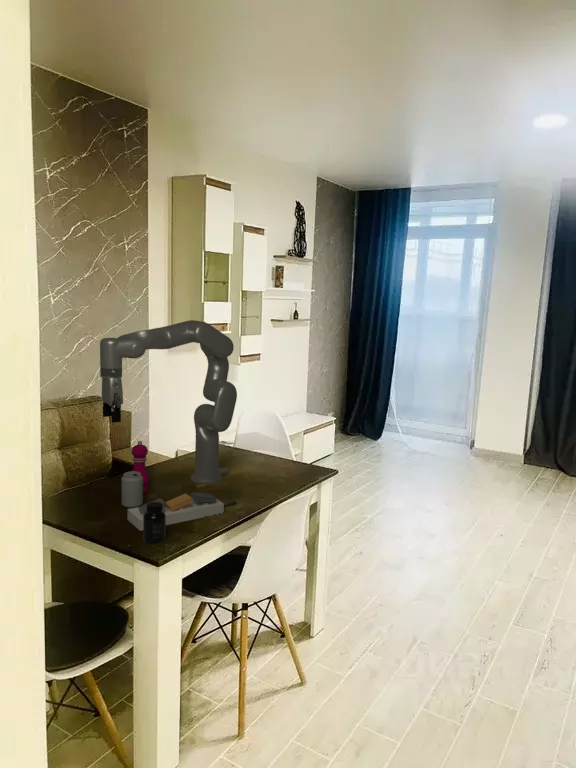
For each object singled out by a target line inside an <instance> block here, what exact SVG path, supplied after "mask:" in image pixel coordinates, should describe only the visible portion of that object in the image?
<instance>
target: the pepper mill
mask: <svg viewBox="0 0 576 768" xmlns="http://www.w3.org/2000/svg"><path fill="white" fill-rule="evenodd" d="M148 452H149V451H148V447H147V446H146V445H145V444H143V441H141V440H138V441H137V444H135V445H134V446H133V447H132V449H131V456H133V457H132V458H133V459H132V461H133V469H132V471H136V472H140V473H141V476H142V477H143V494H144V493H146V492H148V489H149V486H148V484H149V483H150V476H149V473H148V471H147V469H146V461H147V455H148Z"/></svg>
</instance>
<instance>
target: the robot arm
mask: <svg viewBox="0 0 576 768" xmlns="http://www.w3.org/2000/svg"><path fill="white" fill-rule="evenodd" d="M192 343H194V344H195V343H196V344H199V347H200V350H201V351H202V352H203V354H204V356H205V357H206V360H207V372H206V374H205V380H204V384H203V387H202V395H203V397H204V398H205V400H207V401H209V402H213V403H214V404H210V403H202V404H199V406H197V407H196V408H195V411H194V414H193V420H194V421H193V422H194V423H193V424H194V428H195V429H194V430H195V443H194V444H195V445H194V446H195V447H194V448H195V450H194V452H195V454H194V473H193V474H192V475H190V480H191V481H192V482H193V483H197V484H205V485H210V484H211V483H212V484H216V482H217V483H219V482H221V481H222V479H223V478H222V474H227V473H229V468H228V467H226V468H225V467H224V468H223V467H219V450H220V449H219V448H220V446H219V445H220V433H223V432H226V431H227V430H228V429H229V427H230V426H231V424H232V420H233V418H234V411H235V407H236V404H237V399H238V398H237V397H238V392H237V388H236V386H235V385H234V383H232V382H230V381H228V376H229V370H230V369H229V368H230V363H229V359H228V358H229V357H231V355H232V354H233V352H234V350H235V349H234V347H235V345H234V342H233V340H232V339H231V338H230V337H229V336H228V335H226V334H224V333H223V332H222V331H220V330H219V329H218V328H216V327H214V326H212V325H211V324H209V323H207V322H205V321H203V320H202V321H201V320H194V319H191V320H186V321H181V322H177V323H174V324H169V325H166V326H161V327H156V328H155V327H154V328H150V329H144V330H137V331H134V332H133V331H132V332H129V333H125V334H122V335H120V336H118V337H117V338H116V337H103V338H101V340H100V341H99V369H100V370H99V371H100V372H99V375H100V378H101V399H102V417H104V418H108V417H111V418H110V419H111V423H113V424H114V423H120V422H122V416H121V415H122V414H121V413H122V409H121V408H122V405H123V404H124V393H123V391H124V390H123V380H122V378H123V359H124V358H125V359H139V358H140V357H142V356H144V354H145V352H146V350H168V349H172V348H176V347H180V346H184V345H188V344H192ZM220 480H221V481H220ZM218 481H219V482H218ZM212 484H211V485H212Z"/></svg>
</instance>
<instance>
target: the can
mask: <svg viewBox="0 0 576 768" xmlns="http://www.w3.org/2000/svg"><path fill="white" fill-rule="evenodd" d="M120 482H121V486H120V487H121V493H120V494H121V497H120V499H121V505H122V506H123V507H125V508H127V509H131V508H137V507H140V506H142V505H143V503H144V501H143V500H144V493H143V477H142V476H141V473H140V472H136V471H133V470H131V471H127V472H124V473H123V475H122V477H121V481H120Z"/></svg>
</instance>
